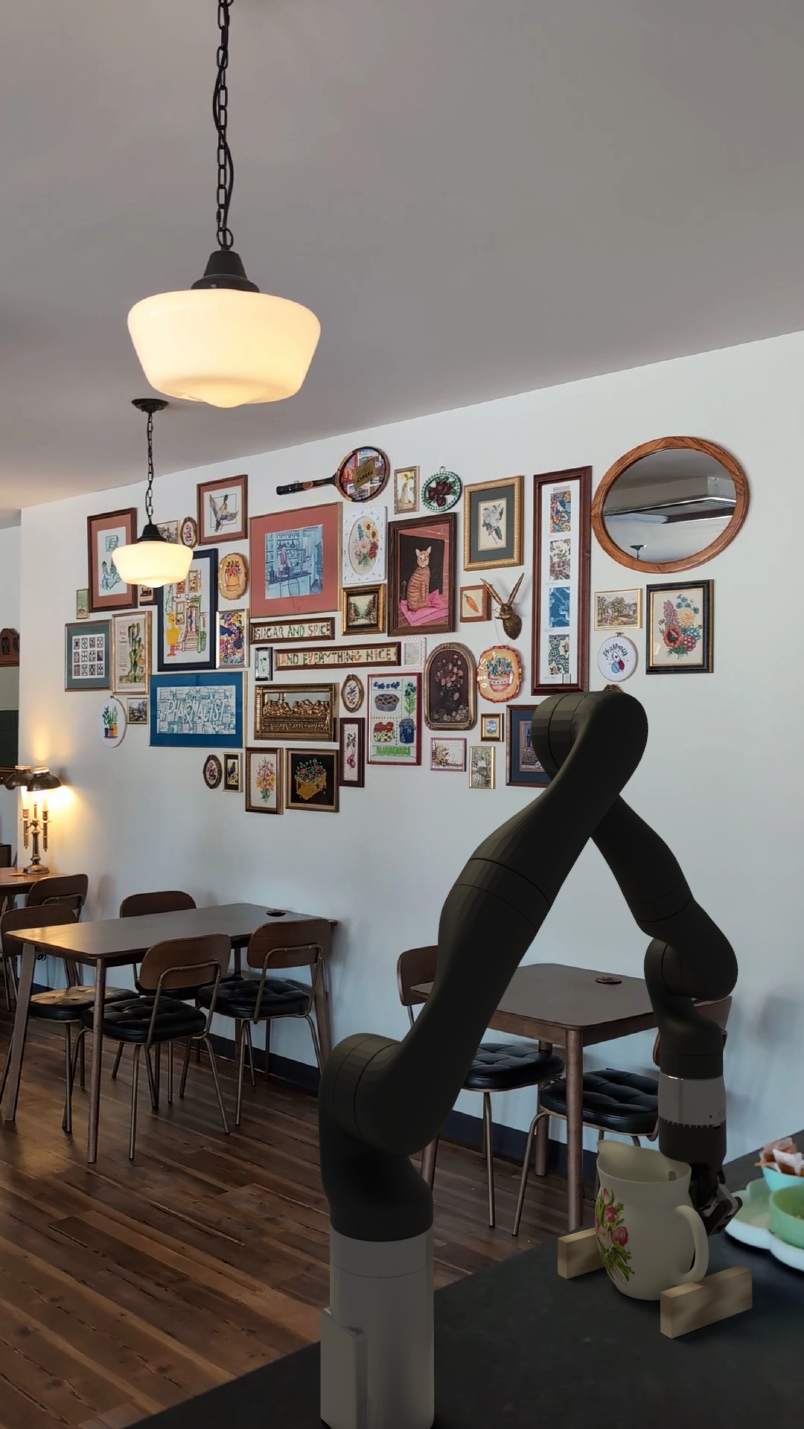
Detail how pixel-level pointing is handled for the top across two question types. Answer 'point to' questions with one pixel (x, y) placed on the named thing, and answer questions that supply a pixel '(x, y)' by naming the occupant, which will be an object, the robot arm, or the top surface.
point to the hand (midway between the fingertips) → (693, 1267)
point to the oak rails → (679, 1304)
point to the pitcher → (647, 1221)
